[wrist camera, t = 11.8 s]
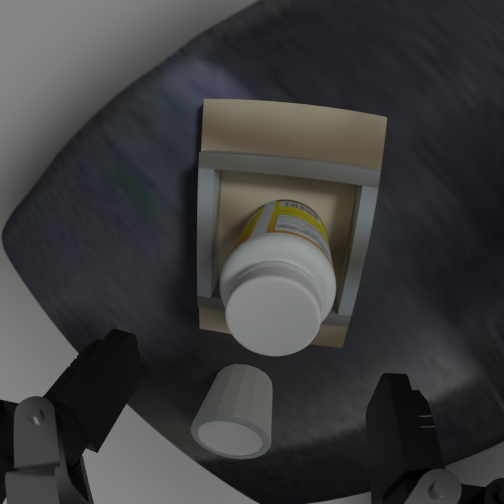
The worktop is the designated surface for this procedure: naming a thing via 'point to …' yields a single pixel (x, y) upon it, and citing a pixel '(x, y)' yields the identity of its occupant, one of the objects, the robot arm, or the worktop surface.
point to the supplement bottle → (278, 279)
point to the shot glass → (236, 414)
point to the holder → (286, 190)
